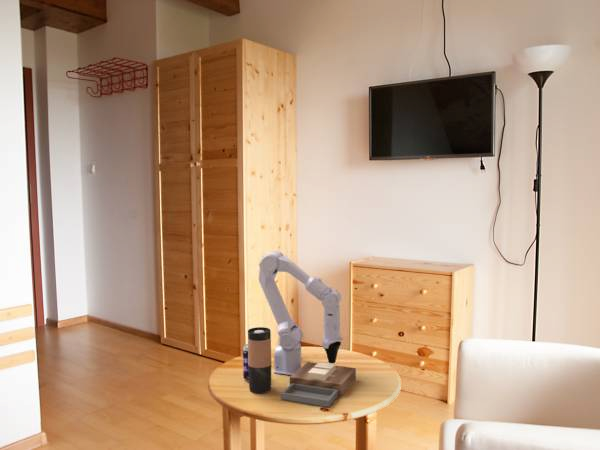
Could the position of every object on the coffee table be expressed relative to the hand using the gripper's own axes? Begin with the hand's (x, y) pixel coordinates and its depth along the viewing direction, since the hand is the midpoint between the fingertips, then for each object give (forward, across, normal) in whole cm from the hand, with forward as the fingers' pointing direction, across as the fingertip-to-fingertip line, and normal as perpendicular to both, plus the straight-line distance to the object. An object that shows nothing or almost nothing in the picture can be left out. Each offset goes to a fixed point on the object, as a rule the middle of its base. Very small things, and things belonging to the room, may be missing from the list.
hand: (332, 362), depth 181 cm
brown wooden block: (+5, -9, 0) cm, 10 cm away
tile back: (+1, -7, 0) cm, 7 cm away
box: (+5, -22, 0) cm, 22 cm away
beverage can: (+5, -14, +25) cm, 29 cm away
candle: (+5, +10, +23) cm, 26 cm away
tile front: (+1, -13, 0) cm, 13 cm away
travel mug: (+5, -21, +18) cm, 28 cm away
